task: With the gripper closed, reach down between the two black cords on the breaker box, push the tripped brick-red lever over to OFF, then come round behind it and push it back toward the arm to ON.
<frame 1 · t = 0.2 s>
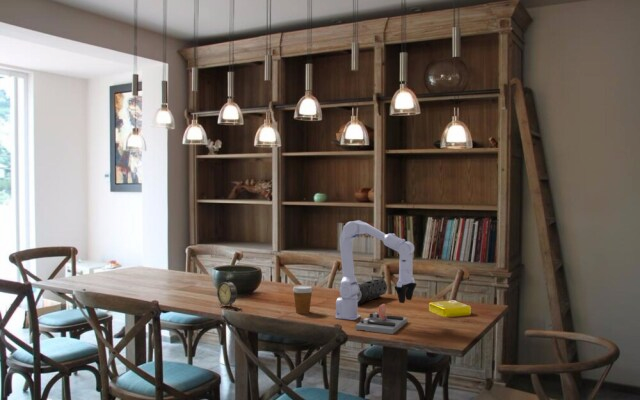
hand: (405, 301, 249), 10 cm above the table, tool pointing down, fingers open, 7 cm apart
muzzle brake: (367, 301, 298), on the table
alarm clock: (227, 306, 284), on the table
disposable coffee cup: (302, 312, 272), on the table
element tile: (449, 313, 273), on the table
breaker box: (382, 325, 246), on the table
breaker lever: (382, 312, 246), point 6 cm above the table, hinge at 0.0°
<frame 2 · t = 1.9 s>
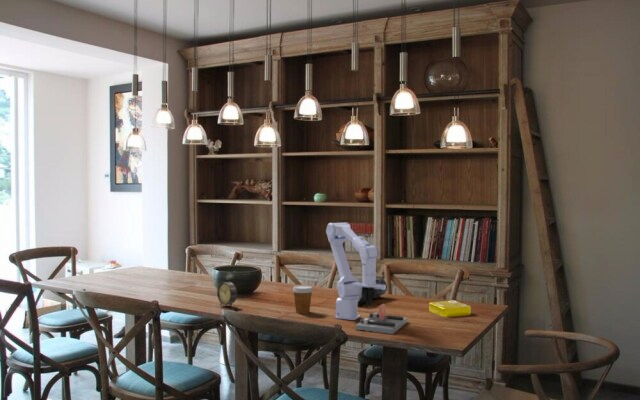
hand: (368, 305, 249), 8 cm above the table, tool pointing down, fingers closed
nothing on the table moved.
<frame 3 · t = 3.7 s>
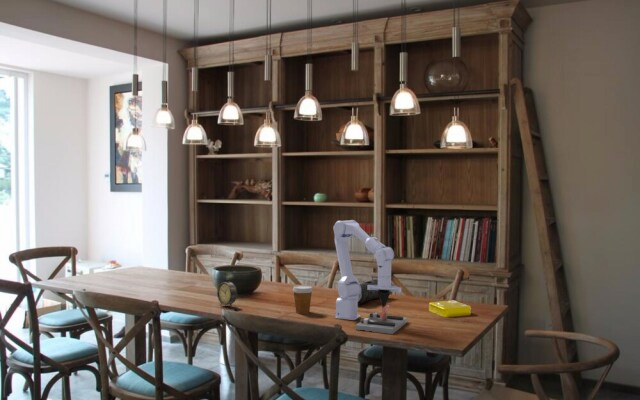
hand: (384, 307, 246), 8 cm above the table, tool pointing down, fingers closed, pressing on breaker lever
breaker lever: (384, 313, 246), point 6 cm above the table, hinge at 18.7°, touching gripper
everything else where it was.
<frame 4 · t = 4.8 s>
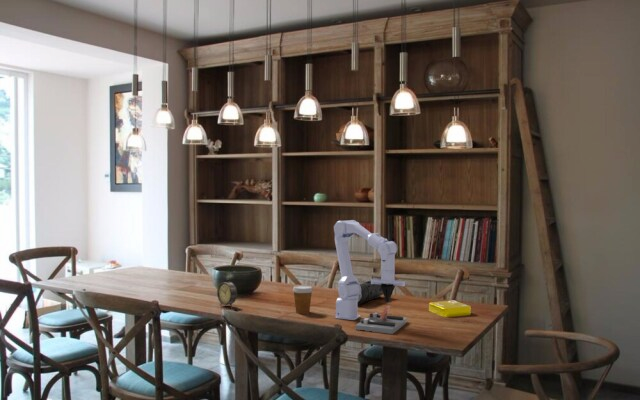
hand: (387, 302, 245), 11 cm above the table, tool pointing down, fingers closed
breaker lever: (384, 313, 246), point 5 cm above the table, hinge at 25.8°
everything else where it was.
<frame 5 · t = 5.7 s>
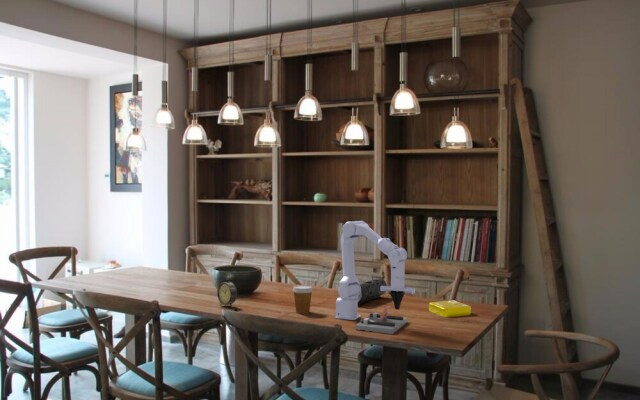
hand: (397, 309, 243), 8 cm above the table, tool pointing down, fingers closed
nothing on the table moved.
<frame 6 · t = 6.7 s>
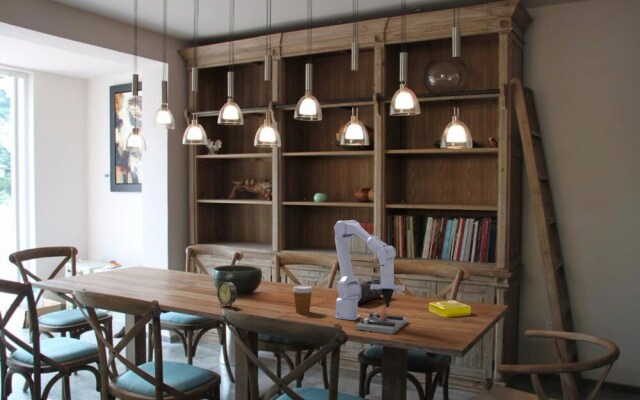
hand: (387, 306, 245), 8 cm above the table, tool pointing down, fingers closed, pressing on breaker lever
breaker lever: (384, 313, 246), point 6 cm above the table, hinge at 19.9°, touching gripper
everything else where it was.
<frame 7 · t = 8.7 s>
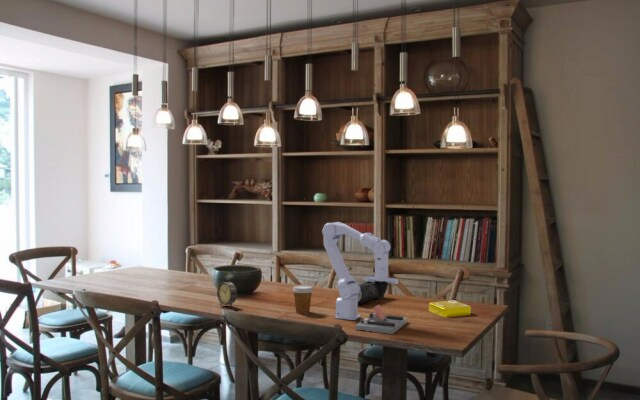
hand: (381, 298, 252), 10 cm above the table, tool pointing down, fingers closed
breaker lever: (379, 312, 247), point 5 cm above the table, hinge at -26.7°
everything else where it was.
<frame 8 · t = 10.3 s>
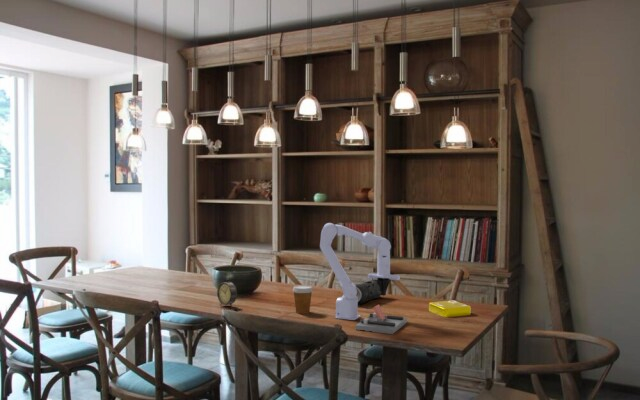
hand: (383, 295, 261), 10 cm above the table, tool pointing down, fingers closed
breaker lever: (379, 313, 247), point 5 cm above the table, hinge at -27.2°
everything else where it was.
at the end: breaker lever at -27° (first picture: +0°) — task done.
